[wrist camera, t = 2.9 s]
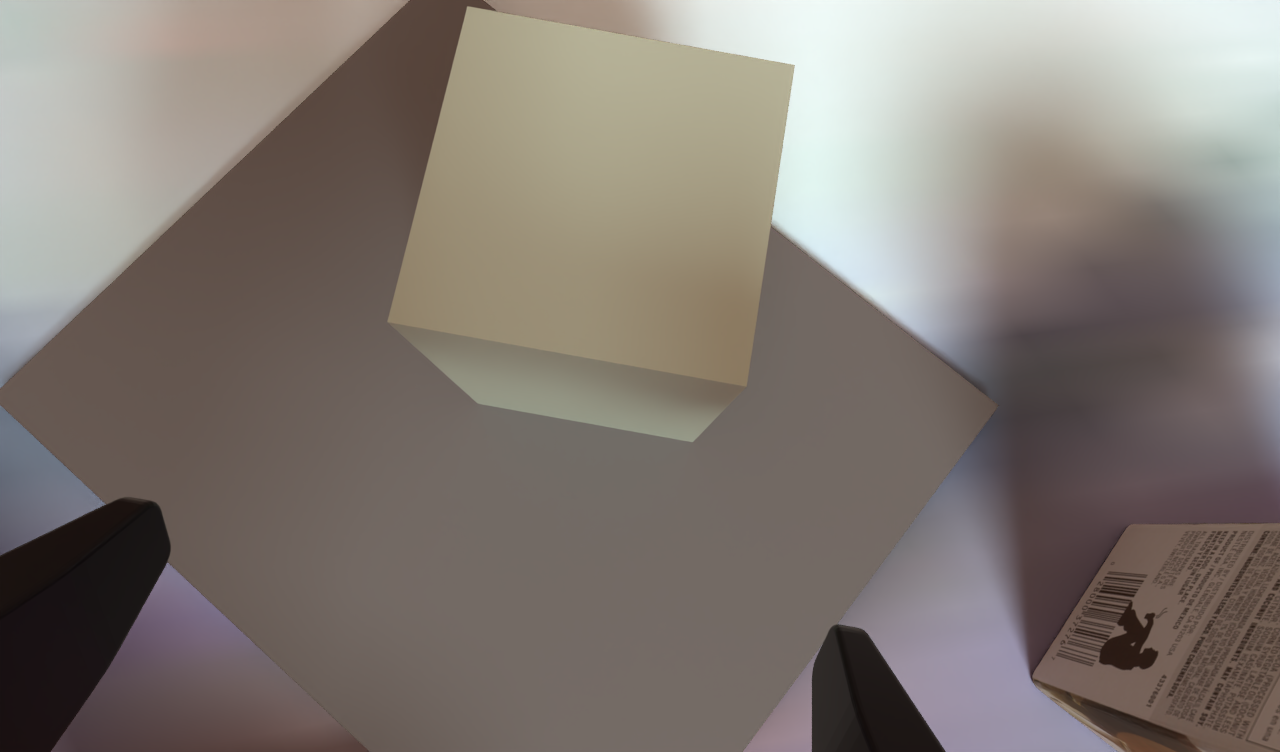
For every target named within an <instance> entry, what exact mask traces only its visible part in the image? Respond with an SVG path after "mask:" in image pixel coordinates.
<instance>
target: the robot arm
mask: <svg viewBox="0 0 1280 752" xmlns="http://www.w3.org/2000/svg"><path fill="white" fill-rule="evenodd" d="M170 552H171V542H170V539H169V535H168V532H167V528H166V525H165V521H164V518H163V514H162V511H161V508H160V506H159V505H158V504H157V503H156V502H154V501H150V500H144V499H139V498H133V497H123V498H119V499H117V500H114V501H112V502H110V503H108V504H106V505H104V506H102V507H100V508H98V509H96V510H94V511H91V512H89V513H87V514H85V515H83V516H81V517H79V518H77V519H75V520H73V521H71V522H69V523H67V524H65V525H63V526H60V527H58V528H56V529H54V530H52V531H50V532H48V533H46V534H44V535H42V536H40V537H38V538H36V539H34V540H32V541H29V542H27V543H25V544H23V545H21V546H19V547H17V548H15V549H13V550H11V551H9V552H7V553H5V554H3V555H1V556H0V752H51V750H52V749H53V748H54V746H55V745H56V743H57V742H58V740H59V739H60V737H61V736H62V735H63V733H64V732H65V730H66V729H67V727H68V726H69V724H70V723H71V722H72V720H73V719H74V717H75V716H76V714H77V713H78V711H79V710H80V709H81V707H82V706H83V704H84V703H85V701H86V700H87V698H88V697H89V696H90V694H91V693H92V691H93V690H94V688H95V687H96V685H97V684H98V682H99V681H100V679H101V678H102V676H103V675H104V673H105V672H106V670H107V669H108V667H109V666H110V664H111V662H112V661H113V659H114V657H115V656H116V654H117V652H118V650H119V649H120V647H121V645H122V643H123V641H124V640H125V638H126V636H127V634H128V632H129V631H130V629H131V627H132V625H133V623H134V622H135V620H136V618H137V616H138V614H139V613H140V611H141V609H142V607H143V605H144V604H145V602H146V600H147V598H148V596H149V595H150V593H151V591H152V589H153V587H154V586H155V584H156V582H157V580H158V578H159V576H160V575H161V573H162V571H163V569H164V567H165V566H166V564H167V562H168V559H169V556H170ZM812 752H945V750H944V748H943V747H942V745H941V744H940V742H939V741H938V739H937V738H936V736H935V735H934V733H933V732H932V730H931V729H930V727H929V726H928V724H927V723H926V721H925V720H924V718H923V717H922V715H921V714H920V712H919V711H918V709H917V708H916V706H915V705H914V703H913V702H912V700H911V699H910V697H909V696H908V694H907V693H906V691H905V690H904V688H903V687H902V685H901V684H900V682H899V681H898V679H897V678H896V676H895V674H894V673H893V671H892V670H891V668H890V667H889V665H888V664H887V662H886V661H885V659H884V658H883V656H882V655H881V653H880V652H879V650H878V649H877V647H876V646H875V644H874V643H873V641H872V640H871V638H870V637H869V635H868V634H867V633H866V632H865V631H864V630H862V629H860V628H856V627H850V626H844V625H839V624H837V625H833V626H832V627H831V628H830V630H829V631H828V634H827V636H826V638H825V640H824V642H823V645H822V647H821V649H820V651H819V653H818V655H817V658H816V660H815V663H814V667H813V674H812Z"/></svg>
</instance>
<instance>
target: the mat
mask: <svg viewBox="0 0 1280 752" xmlns="http://www.w3.org/2000/svg"><path fill="white" fill-rule="evenodd" d="M467 6H469V7H474V8H480V9H486V10H491V11H496V10H495V9H493V8H492V7H491V6H490V5H488V4H487V3H486V2H485V1H483V0H410V1H409V2H408V3H407V4H406V5H405V6H404V7H403V8H402V9H401V10H399V11H398V12H397V13H396V14H395V15H394V16H393V17H392V18H391V19H390V20H389V21H388V22H387V23H386V24H385V25H384V26H383V27H382V28H380V29H379V30H378V31H377V32H376V33H375V34H374V35H373V36H372V37H371V38H370V39H369V40H368V41H367V42H366V43H365V44H364V45H363V46H361V47H360V48H359V49H358V50H357V51H356V52H355V53H354V54H353V55H352V56H351V57H350V58H349V59H348V60H347V61H346V62H345V63H344V64H342V65H341V66H340V67H339V68H338V69H337V70H336V71H335V72H334V73H333V74H332V75H331V76H330V77H329V78H328V79H327V80H326V81H325V82H323V83H322V84H321V85H320V86H319V87H318V88H317V89H316V90H315V91H314V92H313V93H312V94H311V95H310V96H309V97H308V98H307V99H306V100H304V101H303V102H302V103H301V104H300V105H299V106H298V107H297V108H296V109H295V110H294V111H293V112H292V113H291V114H290V115H289V116H288V117H287V118H285V119H284V120H283V121H282V122H281V123H280V124H279V125H278V126H277V127H276V128H275V129H274V130H273V131H272V132H271V133H270V134H269V135H268V136H266V137H265V138H264V139H263V140H262V141H261V142H260V143H259V144H258V145H257V146H256V147H255V148H254V149H253V150H252V151H251V152H250V153H249V154H247V155H246V156H245V157H244V158H243V159H242V160H241V161H240V162H239V163H238V164H237V165H236V166H235V167H234V168H233V169H232V170H231V171H230V172H228V173H227V174H226V175H225V176H224V177H223V178H222V179H221V180H220V181H219V182H218V183H217V184H216V185H215V186H214V187H213V188H212V189H211V190H210V191H208V192H207V193H206V194H205V195H204V196H203V197H202V198H201V199H200V200H199V201H198V202H197V203H196V204H195V205H194V206H193V207H192V208H191V209H189V210H188V211H187V212H186V213H185V214H184V215H183V216H182V217H181V218H180V219H179V220H178V221H177V222H176V223H175V224H174V225H173V226H172V227H170V228H169V229H168V230H167V231H166V232H165V233H164V234H163V235H162V236H161V237H160V238H159V239H158V240H157V241H156V242H155V243H154V244H153V245H151V246H150V247H149V248H148V249H147V250H146V251H145V252H144V253H143V254H142V255H141V256H140V257H139V258H138V259H137V260H136V261H135V262H134V263H132V264H131V265H130V266H129V267H128V268H127V269H126V270H125V271H124V272H123V273H122V274H121V275H120V276H119V277H118V278H117V279H116V280H115V281H113V282H112V283H111V284H110V285H109V286H108V287H107V288H106V289H105V290H104V291H103V292H102V293H101V294H100V295H99V296H98V297H97V298H96V299H94V300H93V301H92V302H91V303H90V304H89V305H88V306H87V307H86V308H85V309H84V310H83V311H82V312H81V313H80V314H79V315H78V316H77V317H75V318H74V319H73V320H72V321H71V322H70V323H69V324H68V325H67V326H66V327H65V328H64V329H63V330H62V331H61V332H60V333H59V334H58V335H56V336H55V337H54V338H53V339H52V340H51V341H50V342H49V343H48V344H47V345H46V346H45V347H44V348H43V349H42V350H41V351H40V352H39V353H37V354H36V355H35V356H34V357H33V358H32V359H31V360H30V361H29V362H28V363H27V364H26V365H25V366H24V367H23V368H22V369H21V370H20V371H18V372H17V373H16V374H15V375H14V376H13V377H12V378H11V379H10V380H9V381H8V382H7V383H6V384H5V385H4V386H3V387H2V388H1V389H0V405H1V406H2V407H3V408H4V409H5V410H6V411H7V412H8V413H9V414H11V415H12V416H13V417H14V418H15V419H16V420H17V421H18V422H19V423H20V424H21V425H22V426H23V427H24V428H25V429H27V430H28V431H29V432H30V433H31V434H32V435H33V436H34V437H35V438H36V439H37V440H38V441H39V442H40V443H41V444H42V445H44V446H45V447H46V448H47V449H48V450H49V451H50V452H51V453H52V454H53V455H54V456H55V457H56V458H57V459H58V460H60V461H61V462H62V463H63V464H64V465H65V466H66V467H67V468H68V469H69V470H70V471H71V472H72V473H73V474H74V475H75V476H77V477H78V478H79V479H80V480H81V481H82V482H83V483H84V484H85V485H86V486H87V487H88V488H89V489H90V490H91V491H93V492H94V493H95V494H96V495H97V496H98V497H99V498H100V499H101V500H102V501H103V502H104V503H105V504H108V503H110V502H112V501H114V500H117V499H119V498H123V497H133V498H139V499H144V500H150V501H154V502H156V503H157V504H158V505H159V506H160V508H161V511H162V514H163V518H164V521H165V525H166V528H167V532H168V535H169V539H170V542H171V552H170V556H169V559H168V563H169V564H170V565H171V566H172V567H173V568H175V569H176V570H177V571H178V572H179V573H180V574H181V575H182V576H183V577H184V578H185V579H186V580H187V581H188V582H189V583H191V584H192V585H193V586H194V587H195V588H196V589H197V590H198V591H199V592H200V593H201V594H202V595H203V596H204V597H205V598H206V599H208V600H209V601H210V602H211V603H212V604H213V605H214V606H215V607H216V608H217V609H218V610H219V611H220V612H221V613H222V614H224V615H225V616H226V617H227V618H228V619H229V620H230V621H231V622H232V623H233V624H234V625H235V626H236V627H237V628H238V629H240V630H241V631H242V632H243V633H244V634H245V635H246V636H247V637H248V638H249V639H250V640H251V641H252V642H253V643H254V644H255V645H257V646H258V647H259V648H260V649H261V650H262V651H263V652H264V653H265V654H266V655H267V656H268V657H269V658H270V659H271V660H273V661H274V662H275V663H276V664H277V665H278V666H279V667H280V668H281V669H282V670H283V671H284V672H285V673H286V674H287V675H288V676H290V677H291V678H292V679H293V680H294V681H295V682H296V683H297V684H298V685H299V686H300V687H301V688H302V689H303V690H304V691H306V692H307V693H308V694H309V695H310V696H311V697H312V698H313V699H314V700H315V701H316V702H317V703H318V704H319V705H320V706H322V707H323V708H324V709H325V710H326V711H327V712H328V713H329V714H330V715H331V716H332V717H333V718H334V719H335V720H336V721H337V722H339V723H340V724H341V725H342V726H343V727H344V728H345V729H346V730H347V731H348V732H349V733H350V734H351V735H352V736H353V737H355V738H356V739H357V740H358V741H359V742H360V743H361V744H362V745H363V746H364V747H365V748H366V749H367V750H368V751H369V752H743V750H744V749H745V748H746V746H747V745H748V744H749V742H750V741H751V740H752V738H753V737H754V736H755V734H756V733H757V732H758V730H759V729H760V728H761V726H762V725H763V723H764V722H765V721H766V719H767V718H768V717H769V715H770V714H771V713H772V711H773V710H774V709H775V707H776V706H777V705H778V703H779V702H780V701H781V699H782V698H783V696H784V695H785V694H786V692H787V691H788V690H789V688H790V687H791V686H792V684H793V683H794V682H795V680H796V679H797V678H798V676H799V675H800V674H801V672H802V671H803V669H804V668H805V667H806V665H807V664H808V663H809V661H810V660H811V659H812V657H813V656H814V655H815V653H816V652H817V651H818V649H819V648H820V647H821V645H822V644H823V642H824V640H825V638H826V636H827V634H828V631H829V630H830V628H831V627H832V626H833V625H837V624H838V622H839V621H840V620H841V618H842V617H843V615H844V614H845V613H846V611H847V610H848V609H849V607H850V606H851V605H852V603H853V602H854V601H855V599H856V598H857V597H858V595H859V594H860V592H861V591H862V590H863V588H864V587H865V586H866V584H867V583H868V582H869V580H870V579H871V578H872V576H873V575H874V574H875V572H876V571H877V570H878V568H879V567H880V565H881V564H882V563H883V561H884V560H885V559H886V557H887V556H888V555H889V553H890V552H891V551H892V549H893V548H894V547H895V545H896V544H897V543H898V541H899V540H900V538H901V537H902V536H903V534H904V533H905V532H906V530H907V529H908V528H909V526H910V525H911V524H912V522H913V521H914V520H915V518H916V517H917V516H918V514H919V513H920V511H921V510H922V509H923V507H924V506H925V505H926V503H927V502H928V501H929V499H930V498H931V497H932V495H933V494H934V493H935V491H936V490H937V489H938V487H939V486H940V484H941V483H942V482H943V480H944V479H945V478H946V476H947V475H948V474H949V472H950V471H951V470H952V468H953V467H954V466H955V464H956V463H957V462H958V460H959V459H960V457H961V456H962V455H963V453H964V452H965V451H966V449H967V448H968V447H969V445H970V444H971V443H972V441H973V440H974V439H975V437H976V436H977V434H978V433H979V432H980V430H981V429H982V428H983V426H984V425H985V424H986V422H987V421H988V420H989V418H990V417H991V416H992V414H993V413H994V412H995V410H996V409H997V407H998V406H999V405H997V404H996V403H995V402H994V401H992V400H991V399H990V398H989V397H987V396H986V395H985V394H983V393H982V392H981V391H980V390H978V389H977V388H976V387H975V386H973V385H972V384H971V383H969V382H968V381H967V380H966V379H964V378H963V377H962V376H961V375H959V374H958V373H957V372H955V371H954V370H953V369H952V368H950V367H949V366H948V365H947V364H945V363H944V362H943V361H941V360H940V359H939V358H938V357H936V356H935V355H934V354H933V353H931V352H930V351H929V350H927V349H926V348H925V347H924V346H922V345H921V344H920V343H919V342H917V341H916V340H915V339H913V338H912V337H911V336H910V335H908V334H907V333H906V332H905V331H903V330H902V329H901V328H899V327H898V326H897V325H896V324H894V323H893V322H892V321H891V320H889V319H888V318H887V317H885V316H884V315H883V314H882V313H880V312H879V311H878V310H877V309H875V308H874V307H873V306H871V305H870V304H869V303H868V302H866V301H865V300H864V299H863V298H861V297H860V296H859V295H857V294H856V293H855V292H854V291H852V290H851V289H850V288H849V287H847V286H846V285H845V284H843V283H842V282H841V281H840V280H838V279H837V278H836V277H835V276H833V275H832V274H831V273H829V272H828V271H827V270H826V269H824V268H823V267H822V266H821V265H819V264H818V263H817V262H815V261H814V260H813V259H812V258H810V257H809V256H808V255H807V254H805V253H804V252H803V251H801V250H800V249H799V248H798V247H796V246H795V245H794V244H793V243H791V242H790V241H789V240H787V239H786V238H785V237H784V236H782V235H781V234H780V233H779V232H777V231H776V230H775V229H773V228H772V227H770V234H769V240H768V247H767V254H766V260H765V267H764V274H763V280H762V287H761V294H760V301H759V307H758V314H757V321H756V327H755V334H754V341H753V347H752V354H751V361H750V368H749V374H748V381H747V387H746V388H745V389H744V390H743V391H742V392H741V393H740V394H739V395H738V396H737V397H736V398H735V399H734V400H733V401H732V402H731V403H730V404H729V405H728V406H727V407H726V408H725V409H724V411H723V412H722V413H721V414H720V415H719V416H718V417H717V418H716V419H715V420H714V421H713V422H712V423H711V424H710V425H709V426H708V427H707V428H706V429H705V430H704V431H703V432H702V433H701V434H700V435H699V436H698V437H697V438H696V439H695V440H694V441H693V442H688V441H683V440H677V439H672V438H666V437H660V436H655V435H649V434H644V433H638V432H633V431H627V430H622V429H616V428H610V427H605V426H599V425H594V424H588V423H583V422H577V421H571V420H566V419H560V418H555V417H549V416H544V415H538V414H532V413H527V412H521V411H516V410H510V409H505V408H499V407H493V406H488V405H482V404H478V403H476V402H475V401H474V400H473V399H472V398H471V397H470V396H469V395H468V394H466V393H465V392H464V391H463V390H462V389H461V388H460V387H459V386H458V385H457V384H455V383H454V382H453V381H452V380H451V379H450V378H449V377H448V376H447V375H445V374H444V373H443V372H442V371H441V370H440V369H439V368H438V367H437V366H435V365H434V364H433V363H432V362H431V361H430V360H429V359H428V358H427V357H425V356H424V355H423V354H422V353H421V352H420V351H419V350H418V349H417V348H415V347H414V346H413V345H412V344H411V343H410V342H409V341H408V340H407V339H406V338H404V337H403V336H402V335H401V334H400V333H399V332H398V331H397V330H396V329H394V328H393V327H392V326H391V325H390V324H389V323H388V322H387V321H388V317H389V313H390V310H391V306H392V302H393V298H394V294H395V290H396V286H397V282H398V278H399V274H400V270H401V266H402V262H403V258H404V254H405V250H406V246H407V243H408V239H409V235H410V231H411V227H412V223H413V219H414V215H415V211H416V207H417V203H418V199H419V195H420V191H421V187H422V183H423V179H424V176H425V172H426V168H427V164H428V160H429V156H430V152H431V148H432V144H433V140H434V136H435V132H436V128H437V124H438V120H439V116H440V112H441V108H442V105H443V101H444V97H445V93H446V89H447V85H448V81H449V77H450V73H451V69H452V65H453V61H454V57H455V53H456V49H457V45H458V41H459V38H460V34H461V30H462V26H463V22H464V18H465V14H466V10H467Z"/></svg>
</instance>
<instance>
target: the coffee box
mask: <svg viewBox="0 0 1280 752" xmlns="http://www.w3.org/2000/svg"><path fill="white" fill-rule="evenodd" d="M1032 678H1033V683H1034V685H1035V686H1036V687H1037V688H1038V689H1039V690H1040V691H1041V692H1043V693H1044V694H1045V695H1046V696H1047V697H1049V698H1050V699H1051V700H1052V701H1054V702H1055V703H1056V704H1057V705H1059V706H1060V707H1061V708H1063V709H1064V710H1065V711H1066V712H1068V713H1069V714H1070V715H1072V716H1073V717H1074V718H1075V719H1077V720H1078V721H1079V722H1081V723H1082V724H1083V725H1084V726H1086V727H1087V728H1088V729H1090V730H1091V731H1092V732H1093V733H1095V734H1096V735H1097V736H1099V737H1100V738H1101V739H1102V740H1104V741H1105V742H1106V743H1108V744H1109V745H1110V746H1111V747H1113V748H1114V749H1115V750H1117V751H1118V752H1280V523H1250V524H1249V523H1238V524H1235V523H1225V524H1206V523H1203V524H1187V523H1185V524H1131V525H1129V526H1128V527H1127V528H1126V530H1125V531H1124V533H1123V534H1122V536H1121V537H1120V539H1119V540H1118V542H1117V544H1116V545H1115V547H1114V548H1113V550H1112V551H1111V553H1110V554H1109V556H1108V557H1107V559H1106V561H1105V562H1104V564H1103V565H1102V567H1101V568H1100V570H1099V571H1098V573H1097V575H1096V576H1095V578H1094V579H1093V581H1092V582H1091V584H1090V585H1089V587H1088V588H1087V590H1086V592H1085V593H1084V595H1083V596H1082V598H1081V599H1080V601H1079V602H1078V604H1077V606H1076V607H1075V609H1074V610H1073V612H1072V613H1071V615H1070V616H1069V618H1068V620H1067V621H1066V623H1065V624H1064V626H1063V628H1062V629H1061V631H1060V632H1059V634H1058V635H1057V637H1056V638H1055V640H1054V641H1053V643H1052V644H1051V646H1050V648H1049V649H1048V651H1047V652H1046V654H1045V656H1044V657H1043V659H1042V660H1041V662H1040V663H1039V665H1038V666H1037V668H1036V669H1035V671H1034V673H1033V676H1032Z"/></svg>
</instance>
